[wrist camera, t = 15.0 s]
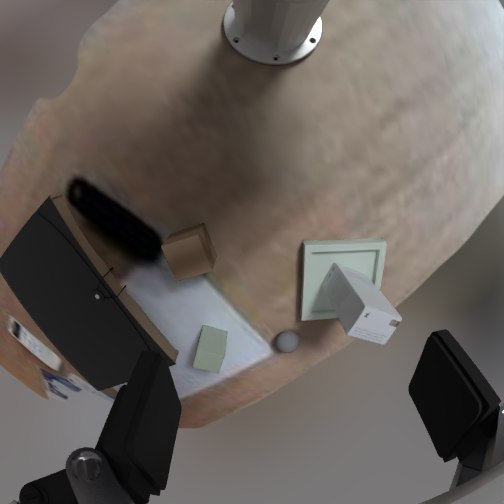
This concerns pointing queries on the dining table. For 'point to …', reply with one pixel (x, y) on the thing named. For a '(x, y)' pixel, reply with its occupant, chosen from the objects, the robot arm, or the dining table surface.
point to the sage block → (210, 349)
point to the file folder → (78, 298)
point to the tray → (321, 261)
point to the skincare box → (360, 305)
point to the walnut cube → (189, 252)
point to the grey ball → (287, 341)
